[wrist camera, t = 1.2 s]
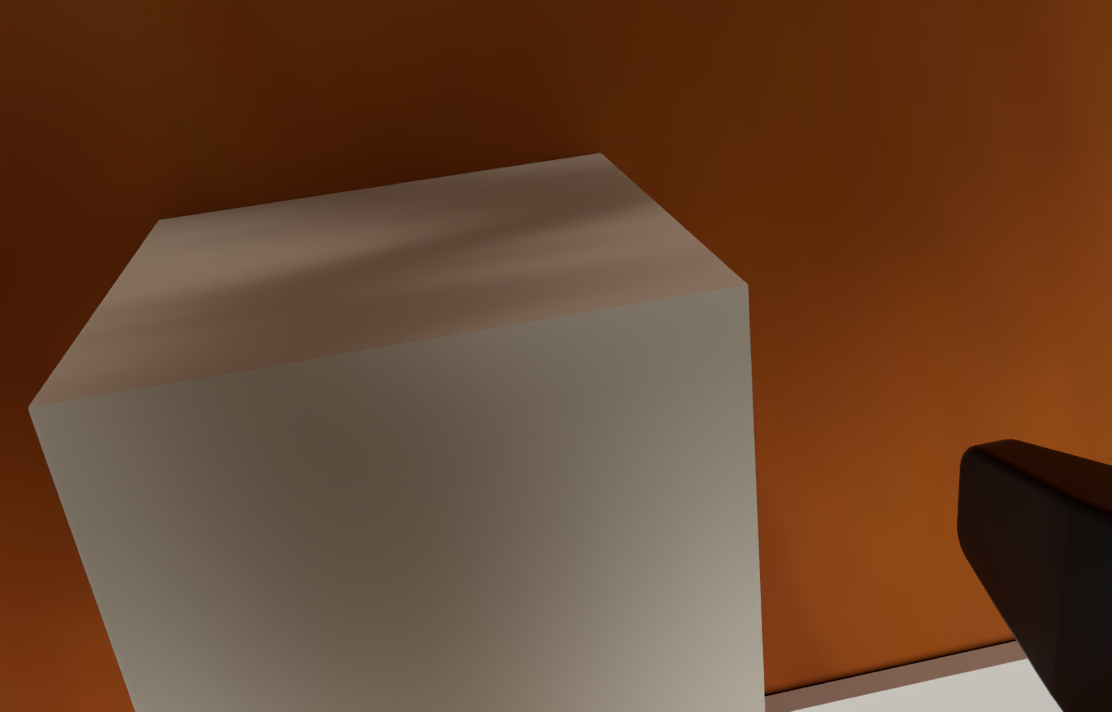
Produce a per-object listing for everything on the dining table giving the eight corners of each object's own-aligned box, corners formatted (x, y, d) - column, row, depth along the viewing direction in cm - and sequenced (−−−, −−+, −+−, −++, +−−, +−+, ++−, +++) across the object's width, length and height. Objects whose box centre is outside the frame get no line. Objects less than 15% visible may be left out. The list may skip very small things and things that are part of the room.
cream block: (599, 151, 12) (747, 285, 7) (633, 516, 14) (768, 797, 9) (159, 218, 11) (26, 407, 7) (261, 588, 13) (211, 928, 9)
